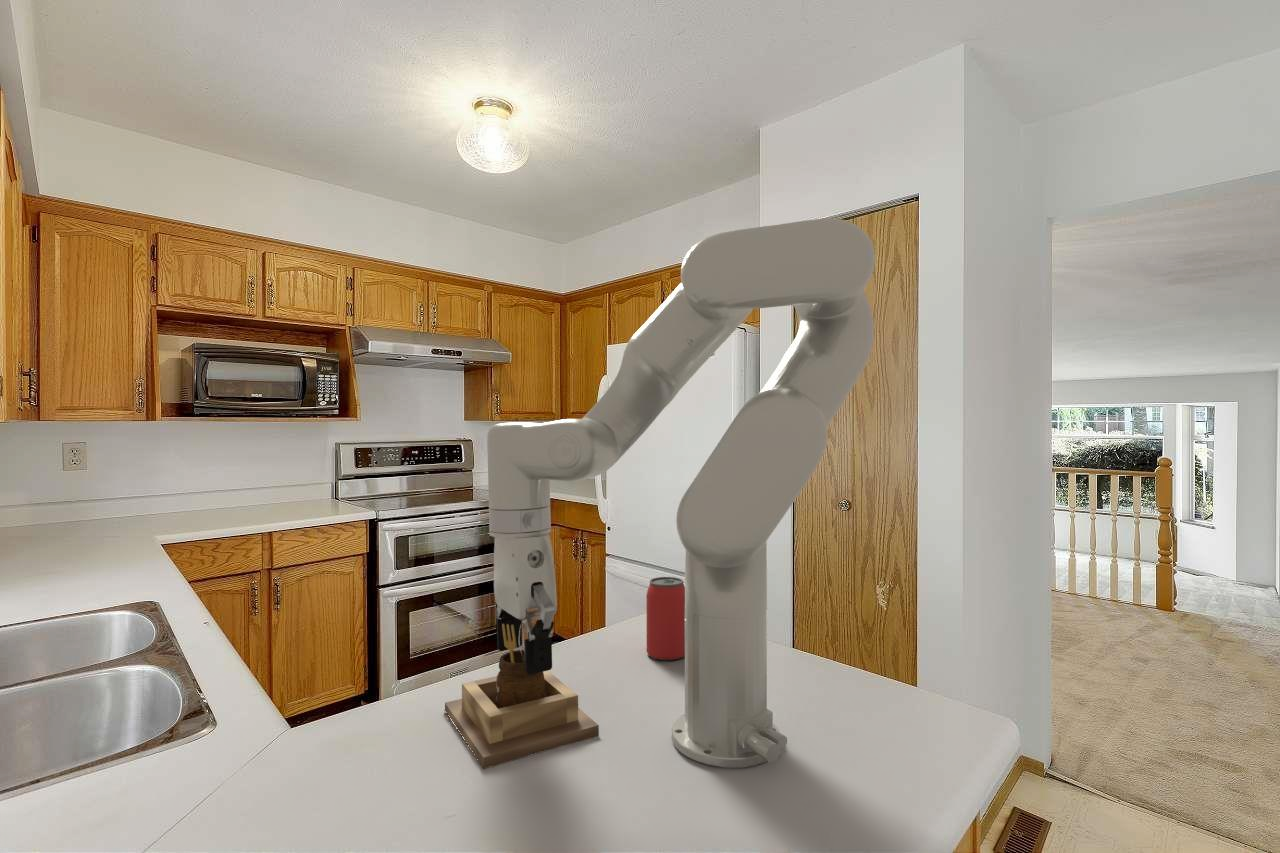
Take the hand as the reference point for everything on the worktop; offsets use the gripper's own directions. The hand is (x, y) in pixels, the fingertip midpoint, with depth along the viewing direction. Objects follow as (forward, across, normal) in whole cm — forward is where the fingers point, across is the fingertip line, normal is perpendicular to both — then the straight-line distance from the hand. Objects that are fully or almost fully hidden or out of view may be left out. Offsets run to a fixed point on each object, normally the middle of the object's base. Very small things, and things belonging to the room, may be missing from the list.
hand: (523, 659), depth 78 cm
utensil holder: (+7, 0, 0) cm, 7 cm away
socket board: (+8, +1, +1) cm, 8 cm away
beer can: (+8, +11, -28) cm, 31 cm away
